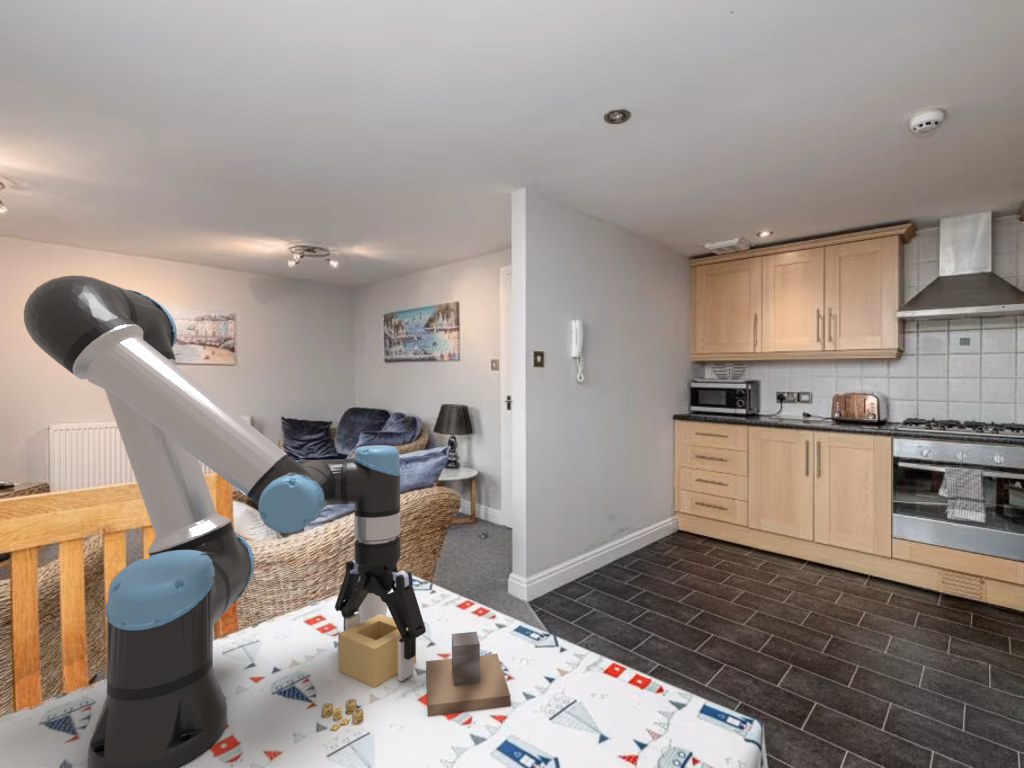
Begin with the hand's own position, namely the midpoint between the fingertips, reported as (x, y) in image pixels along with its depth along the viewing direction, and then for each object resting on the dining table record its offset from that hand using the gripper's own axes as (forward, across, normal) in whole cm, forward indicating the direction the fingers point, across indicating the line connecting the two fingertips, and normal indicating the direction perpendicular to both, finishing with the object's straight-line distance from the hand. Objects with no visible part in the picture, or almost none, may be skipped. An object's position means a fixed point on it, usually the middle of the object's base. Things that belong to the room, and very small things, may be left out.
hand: (378, 664), depth 85 cm
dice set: (+1, -6, +12) cm, 14 cm away
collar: (0, 0, 0) cm, 0 cm away
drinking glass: (0, +11, -8) cm, 14 cm away
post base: (0, -16, -4) cm, 17 cm away
